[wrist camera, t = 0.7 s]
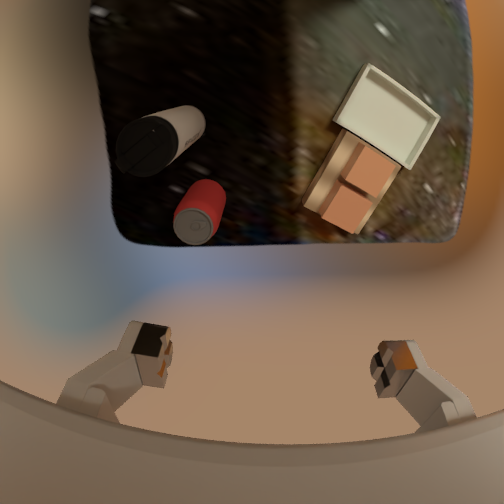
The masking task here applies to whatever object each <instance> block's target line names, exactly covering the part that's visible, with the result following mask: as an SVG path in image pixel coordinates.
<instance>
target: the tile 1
mask: <svg viewBox="0 0 504 504" xmlns="http://www.w3.org/2000/svg"><path fill="white" fill-rule="evenodd" d="M372 204H373V203H372V202H371V201H370V199H369V198H368V197H367V196H365V195H364V194H362V193H360V192H359V191H357V190H355V189H353V188H352V187H350V186H348V185H346V184H345V183H343V182H341V181H339V180H338V179H337V180H336V182H335V184H334V185H333V187H332V189H331V190H330V192H329V194H328V195H327V197H326V199H325V200H324V202H323V204H322V205H321V207H320V209H319V210H318V211H319V213H320V215H321V218H323V219H325V220H326V221H328V222H330V223H332V224H334V225H336V226H338V227H340V228H342V229H344V230H346V231H348V232H350V233H352V234H353V233H354V231H355V230H356V228H357V227H358V225H359V224H360V222H361V221H362V219H363V218H364V216H365V215H366V213H367V211H368V210H369V208H370V207H371V205H372Z"/></svg>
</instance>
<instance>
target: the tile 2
mask: <svg viewBox="0 0 504 504" xmlns="http://www.w3.org/2000/svg"><path fill="white" fill-rule="evenodd" d="M395 167H396V166H395V165H394V164H392V163H391V162H389V161H388V160H387V159H385V158H384V157H382V156H381V155H379V154H377V153H376V152H374V151H373V150H371V149H370V148H368V147H367V146H365V145H363V144H362V143H360V142H359V143H358V145H357V147H356V148H355V150H354V152H353V153H352V155H351V157H350V159H349V160H348V162H347V164H346V165H345V167H344V169H343V170H342V172H341V175H342V177H343V178H344V179H345V180H347V181H348V182H350V183H352V184H353V185H355V186H357V187H359V188H360V189H362V190H364V191H365V192H367V193H369V194H370V195H372V196H374V197H375V198H377V196H378V194H379V193H380V191H381V190H382V188H383V186H384V185H385V183H386V182H387V180H388V178H389V177H390V175H391V174H392V172H393V170H394V169H395Z"/></svg>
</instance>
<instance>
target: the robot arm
mask: <svg viewBox="0 0 504 504" xmlns="http://www.w3.org/2000/svg"><path fill="white" fill-rule="evenodd" d="M170 337H171V329H170V327H167V326H161V325H155V324H150V323H142V322H137V321H131V322H130V323H129V325H128V327H127V329H126V331H125V333H124V336H123V338H122V340H121V342H120V345H119V347H118V349H117V351H115V350H113V351H111V352H109V353H108V354H106V355H105V356H103V357H102V358H100V359H99V360H97V361H95V362H94V363H92V364H91V365H89V366H88V367H86V368H85V369H83V370H81V371H80V372H78V373H77V374H75V375H73V376H72V377H70V378H69V379H68V380H67V382H66V384H65V386H64V388H63V390H62V393H61V395H60V397H59V399H58V401H57V403H56V404H54V403H52V402H49V401H46V400H44V399H41V398H39V397H36V396H34V395H31V394H29V393H27V392H24V391H22V390H19V389H17V388H15V387H13V386H11V385H8V384H7V383H4V382H2V381H0V504H504V409H503V410H500V411H497V412H494V413H491V414H488V415H485V416H482V417H478V418H477V417H476V415H475V413H474V410H473V408H472V406H471V403H470V401H469V399H468V397H467V396H466V395H465V394H463V393H462V392H461V391H460V390H458V389H457V388H456V387H455V386H453V385H452V384H451V383H450V382H448V381H447V380H446V379H445V378H443V377H442V376H441V375H440V374H438V373H437V372H436V371H434V370H433V369H432V368H428V366H427V364H426V362H425V360H424V357H423V355H422V353H421V351H420V349H419V347H418V345H417V343H416V341H414V340H403V341H402V340H398V341H382V342H381V343H380V344H379V346H378V350H379V352H377V353H376V354H375V355H374V356H373V358H372V360H371V364H370V372H371V375H372V377H373V378H374V379H375V380H376V383H375V385H374V386H375V389H376V392H377V396H378V398H389V397H396V399H397V400H398V401H399V402H400V403H401V405H402V406H403V407H404V408H405V409H406V410H407V411H408V412H409V413H410V414H411V416H412V417H413V418H414V419H415V420H416V421H417V422H418V423H419V425H420V426H421V427H420V428H419V429H418V430H417V431H416V432H415V433H413V434H407V435H402V436H396V437H389V438H382V439H374V440H365V441H356V442H344V443H331V444H296V445H295V444H294V445H284V444H252V443H237V442H225V441H214V440H206V439H197V438H191V437H183V436H177V435H171V434H166V433H160V432H155V431H149V430H145V429H141V428H136V427H132V426H127V425H123V424H120V423H119V421H118V419H117V417H116V415H115V413H114V412H115V411H116V410H117V409H118V408H119V407H120V406H121V405H123V404H124V402H126V401H127V400H128V399H129V398H130V397H131V396H132V395H134V393H136V392H137V391H138V390H139V389H140V388H141V387H142V385H146V386H152V387H159V388H164V386H165V383H166V379H167V375H168V374H167V368H168V367H169V366H170V364H171V360H172V353H173V347H172V342H171V341H170Z"/></svg>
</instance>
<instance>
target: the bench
mask: <svg viewBox="0 0 504 504" xmlns="http://www.w3.org/2000/svg"><path fill="white" fill-rule="evenodd" d="M359 142H360V143H362V144H363V145H365V146H367V147H368V148H370V149H371V150H373V151H374V152H376V153H377V154H379V155H381V156H382V157H384V158H385V159H387V160H388V161H389V162H391V163H392V164H394V165H395V166H396V167H395V169H394V170H393V172H392V174H391V175H390V177H389V178H388V180H387V182H386V183H385V185H384V186H383V188H382V190H381V191H380V193H379V194H378V196H377V198H375V197H374V196H372V195H370V194H369V193H367V192H365V191H364V190H362V189H360V188H359V187H357V186H355V185H353V184H352V183H350V182H348V181H347V180H345V179H344V178H343V177H342V175H341V172H342V170H343V169H344V167H345V165H346V164H347V162H348V160H349V159H350V157H351V155H352V153H353V152H354V150H355V148H356V147H357V145H358V143H359ZM400 168H401V166H400V165H399V164H398V163H396V162H395V161H393V160H392V159H390V158H389V157H387V156H386V155H384V154H383V153H381V152H380V151H378V150H377V149H375V148H374V147H372V146H371V145H369V144H368V143H366V142H364V141H363V140H361V139H360V138H358V137H356V136H355V135H353V134H351V133H350V132H348V131H346V130H345V129H343V128H342V130H341V132H340V134H339V135H338V137H337V139H336V141H335V142H334V144H333V146H332V148H331V149H330V151H329V153H328V155H327V156H326V158H325V160H324V162H323V163H322V165H321V167H320V168H319V170H318V172H317V174H316V175H315V177H314V179H313V181H312V182H311V184H310V186H309V187H308V189H307V191H306V193H305V194H304V196H303V198H302V203H303V206H304V207H306V208H308V209H310V210H312V211H314V212H316V213H318V214H320V213H319V211H318V210H319V209H320V207H321V205H322V204H323V202H324V200H325V199H326V197H327V195H328V194H329V192H330V190H331V189H332V187H333V185H334V184H335V182H336V180H337V179H338V180H339V181H341V182H343V183H345V184H346V185H348V186H350V187H352V188H353V189H355V190H357V191H359V192H360V193H362V194H364V195H365V196H367V197H368V198H369V199H370V201H371V202H372V203H373V204H372V205H371V207H370V208H369V210H368V211H367V213H366V215H365V216H364V218H363V219H362V221H361V222H360V224H359V225H358V227H357V228H356V230H355V231H354V232H355V233H357V234H358V233H359V232H360V230H361V229H362V228H363V226H364V225H365V223H366V222H367V220H368V219H369V217H370V215H371V214H372V212H373V211H374V209H375V208H376V206H377V205H378V203H379V202H380V200H381V199H382V197H383V195H384V194H385V192H386V191H387V189H388V188H389V186H390V184H391V183H392V181H393V179H394V178H395V176H396V175H397V173H398V171H399V170H400Z"/></svg>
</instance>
